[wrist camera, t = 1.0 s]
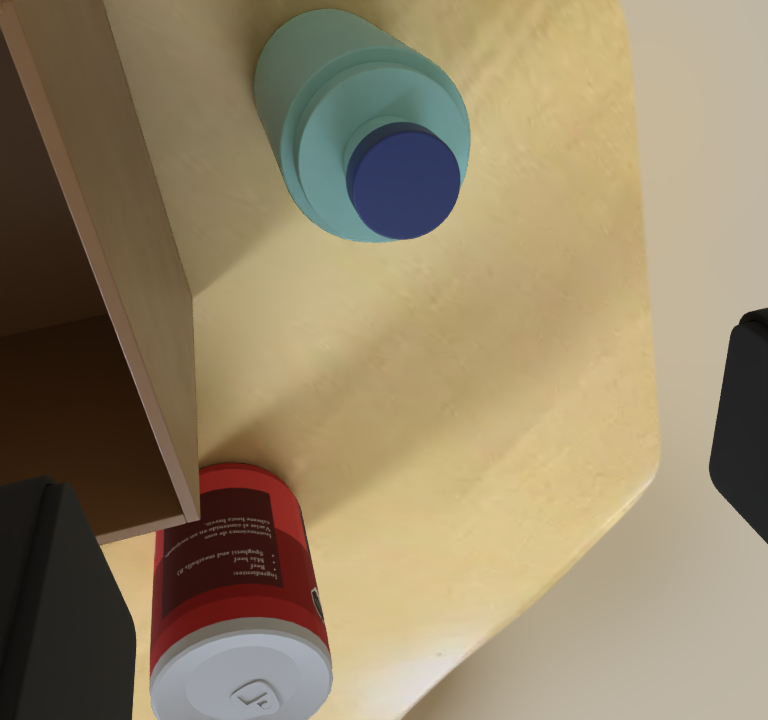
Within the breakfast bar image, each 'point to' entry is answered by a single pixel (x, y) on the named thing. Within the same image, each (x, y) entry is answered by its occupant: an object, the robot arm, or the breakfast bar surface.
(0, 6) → the flap
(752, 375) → the robot arm
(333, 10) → the bottle
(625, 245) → the breakfast bar surface
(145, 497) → the carton
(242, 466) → the canned food
